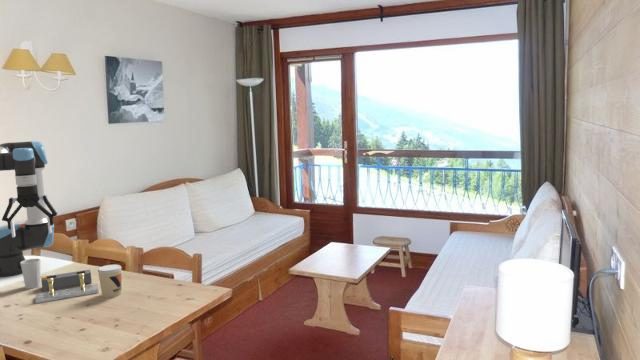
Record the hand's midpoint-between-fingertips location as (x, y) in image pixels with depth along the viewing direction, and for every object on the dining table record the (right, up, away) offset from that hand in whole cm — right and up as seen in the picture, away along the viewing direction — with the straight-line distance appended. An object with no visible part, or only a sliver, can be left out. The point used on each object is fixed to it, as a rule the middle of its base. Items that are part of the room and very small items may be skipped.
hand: (32, 234), depth 215 cm
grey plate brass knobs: (+13, -27, +4) cm, 30 cm away
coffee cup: (+32, -26, +4) cm, 42 cm away
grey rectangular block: (+6, -25, +17) cm, 31 cm away
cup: (-9, -26, +17) cm, 32 cm away
